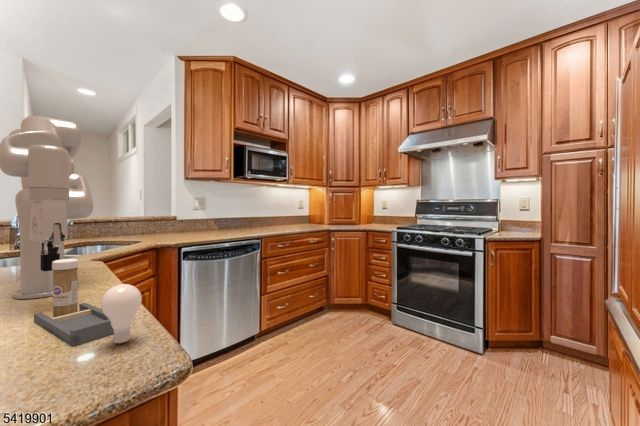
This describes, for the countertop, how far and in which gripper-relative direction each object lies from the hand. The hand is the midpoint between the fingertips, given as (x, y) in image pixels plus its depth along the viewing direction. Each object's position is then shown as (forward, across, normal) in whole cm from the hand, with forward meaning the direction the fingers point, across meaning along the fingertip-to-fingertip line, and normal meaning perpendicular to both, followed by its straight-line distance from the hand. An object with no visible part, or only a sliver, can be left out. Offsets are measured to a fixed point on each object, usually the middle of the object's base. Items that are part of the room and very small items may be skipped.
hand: (50, 270), depth 72 cm
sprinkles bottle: (+10, +10, 0) cm, 14 cm away
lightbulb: (+11, +35, +1) cm, 36 cm away
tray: (+10, +18, 0) cm, 20 cm away
